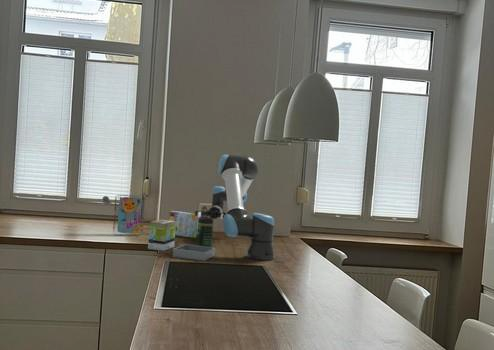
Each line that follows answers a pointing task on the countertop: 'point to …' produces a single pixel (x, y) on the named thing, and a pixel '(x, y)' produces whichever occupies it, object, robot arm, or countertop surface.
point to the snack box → (185, 223)
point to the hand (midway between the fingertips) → (209, 216)
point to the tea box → (162, 234)
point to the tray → (194, 252)
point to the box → (128, 213)
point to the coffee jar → (204, 231)
